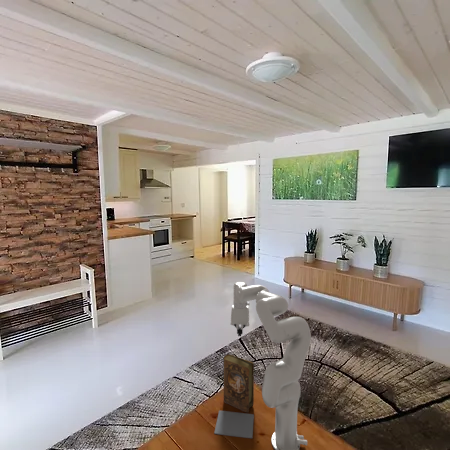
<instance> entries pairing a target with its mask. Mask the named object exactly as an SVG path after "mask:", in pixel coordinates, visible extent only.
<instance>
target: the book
mask: <svg viewBox="0 0 450 450" xmlns="http://www.w3.org/2000/svg"><path fill="white" fill-rule="evenodd" d="M254 368H255V364H254V362H252V361H250V360H246V359H245V358H241V357H239V356H235V355H234V354H233V355H232V354H230V353H229V354H225V355H224V356H223V403H225V404H227V405H230V406H232V407H233V408H236V409H238V410H240V411H242V412H245V413H246V414H249V412H250V408H251V407H254V404H255V403H254V402H255V399H254V398H255V397H254V395H255V391H254V390H255V388H254V387H255V383H254V382H255V380H254V379H255V369H254Z"/></svg>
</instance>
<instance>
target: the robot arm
mask: <svg viewBox="0 0 450 450" xmlns="http://www.w3.org/2000/svg"><path fill="white" fill-rule="evenodd" d="M251 301H255V304H256V305H255V310H256V313H257V316H258V318H259V319H260V322H261V324H262V326H263V327H264V329H265V332H266V333H267V335H268V337H269V339H270V340H271V341H272V342H273V343H276V344H281V343H285V342H288V341H289V343H288V345H286V347H285V350H284V355H283V357H282V358H281V359H280V360H277V361H274V362H272V363H270V364H268V365H267V366H266V369H265V372H264V376H263V381H262V385H261V386H262V388H261V396H262V400H263V403H264V404H265V406H267V407H268V408H272V409H275V416H274V417H275V418H274V419H275V420H274V421H275V422H274V423H275V425H274V426H275V427H274V432H273V434H272V436H271V439H270V440H271V445H272V447H273V449H274V450H300V448H301V445H304V446H308V439H305V438H304V435H302V434H301V435H300V434H298V408H299V407H298V406H299V401H300V397H301V385H300V382H299V380H300V378H301V376H302V374H303V369H304V366H305V361H306V357H307V354H308V351H309V349H310V345H311V341H312V336H311V335H312V334H311V328H310V326H309V324H308V322H307V320H306V319H304V318H303V317H301V316H290V317H286V318H282V319H279V320H276V318H275V317H277V316H280V315H283V314H285V313H286V312H287V311H288V309H289V302H288V300H287V299H286V298H285V297H283V296H281V295H279V294H276V293H273V292H270V290H269V289H268V287H266V286H264V285H261V284H254V285H253V284H252V285H249V286H248V285H247V283H246V282H244V281H237V282H236V281H235V283H233V304H232V306H231V312H230V325H231V326H233V327H234V328H236V334H237V336H238V337H241V336H242V335H243V331H244V328H246V327H250V309H249V306H250V302H251Z"/></svg>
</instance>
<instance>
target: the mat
mask: <svg viewBox="0 0 450 450" xmlns="http://www.w3.org/2000/svg"><path fill="white" fill-rule="evenodd" d="M254 417H255V415H254V413H253V414H252V413H247V412H245V413H243V412H235V411H228V410H227V411H226V410H220V409H219V410H218V415H217V420H216V424H215V429H214V433H213V434H214V435H219V436H220V435H221V436H229V437H237V438H244V439H253V434H254V433H253V432H254V420H255V419H254Z"/></svg>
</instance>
